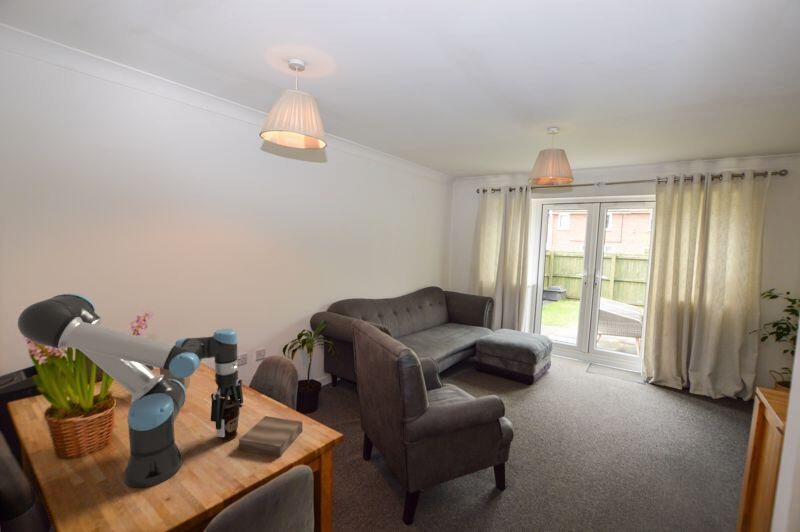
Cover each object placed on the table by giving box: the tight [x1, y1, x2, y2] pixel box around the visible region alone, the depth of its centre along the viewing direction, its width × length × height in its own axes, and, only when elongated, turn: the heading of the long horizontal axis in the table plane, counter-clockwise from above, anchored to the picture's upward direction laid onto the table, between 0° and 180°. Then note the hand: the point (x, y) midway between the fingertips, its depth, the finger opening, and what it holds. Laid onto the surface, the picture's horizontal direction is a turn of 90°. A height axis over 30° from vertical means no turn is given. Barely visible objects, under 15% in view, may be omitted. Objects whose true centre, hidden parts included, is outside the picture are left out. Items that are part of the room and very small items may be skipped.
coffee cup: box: [218, 398, 240, 442], centre depth 132 cm, size 9×8×13 cm
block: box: [159, 368, 191, 390], centre depth 168 cm, size 10×10×20 cm
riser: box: [238, 415, 304, 458], centre depth 131 cm, size 16×16×4 cm
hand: (228, 429), depth 132 cm, fingers closed on coffee cup, 7 cm apart
